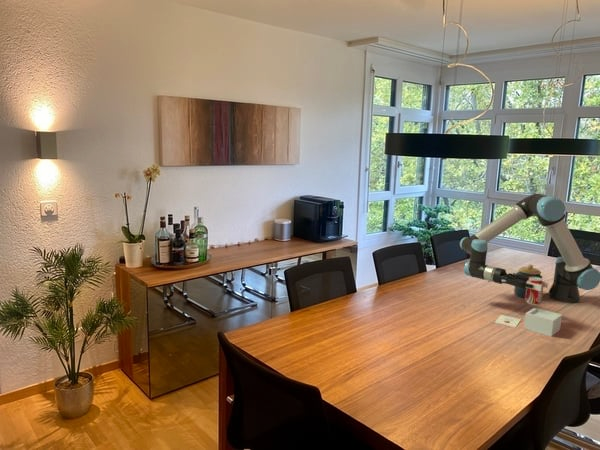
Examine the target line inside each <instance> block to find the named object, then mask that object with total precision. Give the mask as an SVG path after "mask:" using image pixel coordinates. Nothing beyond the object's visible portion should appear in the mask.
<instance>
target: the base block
mask: <svg viewBox="0 0 600 450" xmlns="http://www.w3.org/2000/svg"><path fill="white" fill-rule="evenodd" d="M562 319H563V314H562V313H558V312H553V311H550V310H546V309H543V308H540V307H533V308H532V309H530V310H529V311H527V312H525V315H524V322H523V329H525V330H528V331H532V332H534V333H538V334H541V335H545V336H548V337H552V336H554V335H555V334H556V333H558V332H559V331H560V330H561V325H562Z"/></svg>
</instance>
